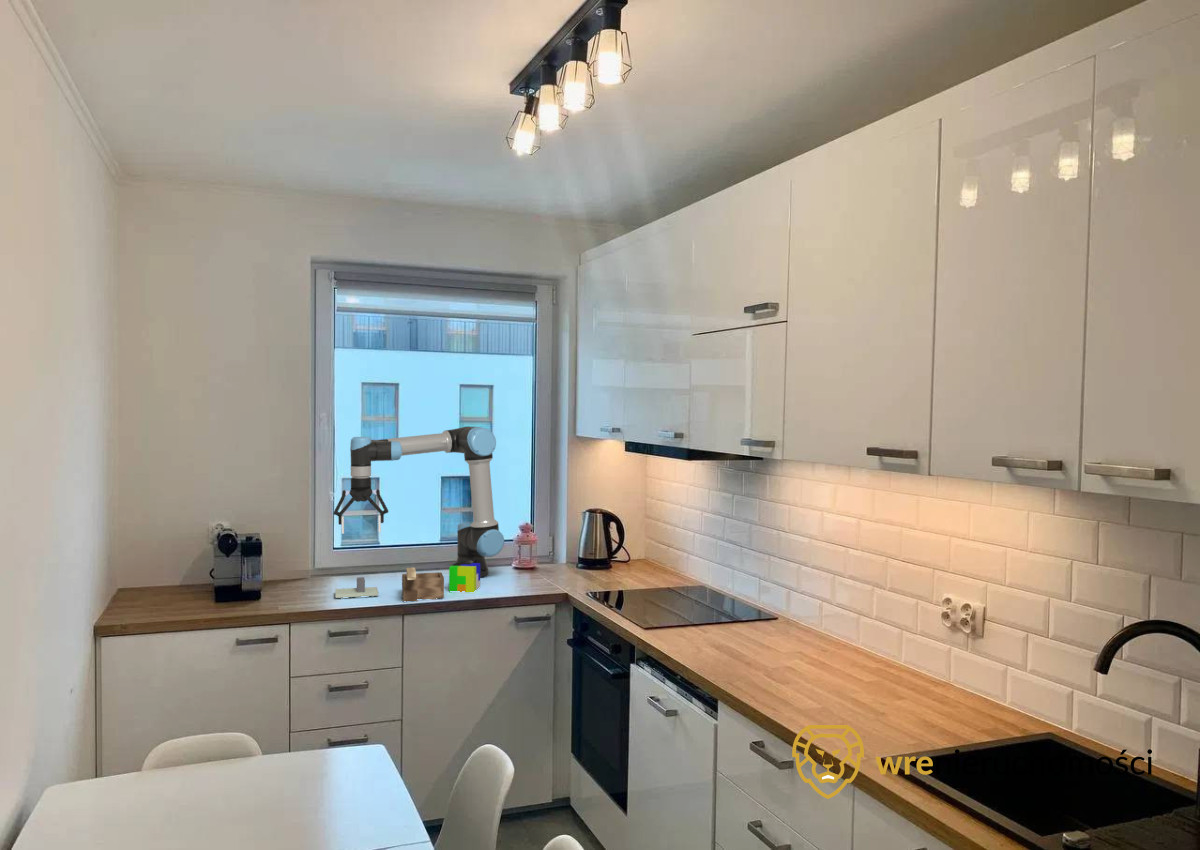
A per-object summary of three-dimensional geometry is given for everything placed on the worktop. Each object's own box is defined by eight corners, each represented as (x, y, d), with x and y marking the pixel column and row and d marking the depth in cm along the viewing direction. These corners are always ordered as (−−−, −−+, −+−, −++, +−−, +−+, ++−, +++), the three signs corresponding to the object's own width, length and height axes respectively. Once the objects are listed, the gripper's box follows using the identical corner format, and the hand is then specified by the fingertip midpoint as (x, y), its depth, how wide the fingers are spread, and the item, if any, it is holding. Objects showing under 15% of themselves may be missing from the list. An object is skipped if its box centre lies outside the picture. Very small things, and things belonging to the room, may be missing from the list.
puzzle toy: (480, 588, 345) (480, 563, 345) (474, 593, 335) (474, 567, 335) (455, 587, 346) (456, 562, 346) (449, 592, 336) (449, 567, 336)
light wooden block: (414, 575, 320) (414, 567, 320) (415, 579, 313) (415, 571, 312) (406, 575, 319) (406, 567, 319) (407, 580, 312) (407, 571, 312)
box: (441, 592, 335) (441, 569, 335) (444, 600, 322) (444, 575, 322) (402, 594, 331) (402, 570, 331) (403, 602, 318) (403, 577, 318)
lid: (376, 592, 336) (377, 575, 336) (378, 598, 326) (378, 580, 326) (335, 594, 331) (335, 577, 331) (335, 600, 321) (335, 582, 321)
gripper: (394, 475, 335) (394, 529, 335) (327, 477, 328) (327, 532, 329) (394, 477, 328) (395, 532, 328) (326, 478, 321) (326, 535, 322)
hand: (361, 532), depth 328 cm, fingers open, 13 cm apart
